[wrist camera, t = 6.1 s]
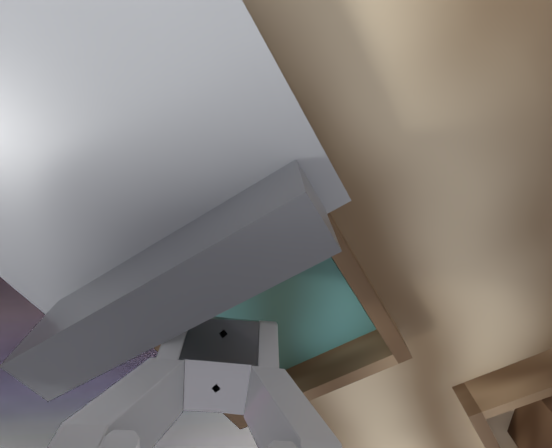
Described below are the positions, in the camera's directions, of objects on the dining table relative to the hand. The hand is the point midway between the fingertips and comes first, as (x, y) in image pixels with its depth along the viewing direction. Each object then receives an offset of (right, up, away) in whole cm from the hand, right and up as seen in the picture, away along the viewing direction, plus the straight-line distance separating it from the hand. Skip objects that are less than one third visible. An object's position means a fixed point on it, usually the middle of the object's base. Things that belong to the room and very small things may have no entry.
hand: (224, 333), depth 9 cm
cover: (-3, +6, +1) cm, 6 cm away
